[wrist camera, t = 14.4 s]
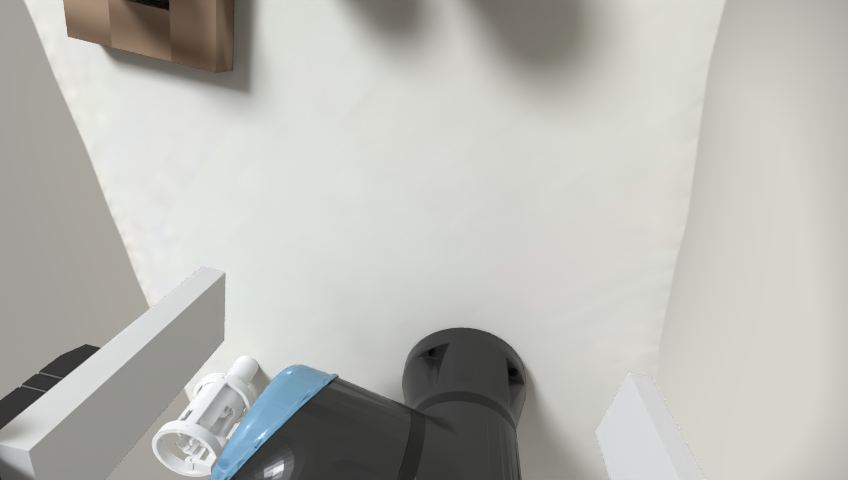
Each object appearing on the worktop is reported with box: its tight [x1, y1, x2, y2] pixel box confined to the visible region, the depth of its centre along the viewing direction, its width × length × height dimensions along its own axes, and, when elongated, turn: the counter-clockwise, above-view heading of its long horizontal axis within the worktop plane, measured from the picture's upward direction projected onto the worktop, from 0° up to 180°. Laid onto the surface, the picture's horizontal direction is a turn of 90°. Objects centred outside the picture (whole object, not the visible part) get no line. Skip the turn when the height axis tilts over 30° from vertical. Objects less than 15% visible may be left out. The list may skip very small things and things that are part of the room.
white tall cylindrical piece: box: [152, 356, 259, 477], centre depth 51 cm, size 7×7×15 cm
